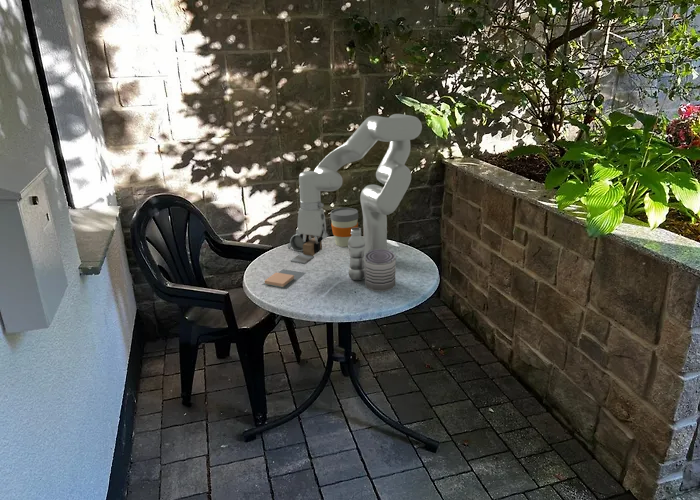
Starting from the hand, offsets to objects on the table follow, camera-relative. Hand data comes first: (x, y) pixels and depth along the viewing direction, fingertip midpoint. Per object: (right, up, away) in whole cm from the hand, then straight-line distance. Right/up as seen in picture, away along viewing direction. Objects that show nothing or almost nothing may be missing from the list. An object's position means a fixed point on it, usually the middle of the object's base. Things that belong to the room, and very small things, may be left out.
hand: (312, 251), depth 188 cm
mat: (-11, -11, 0) cm, 15 cm away
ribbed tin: (+25, -13, -6) cm, 29 cm away
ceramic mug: (-8, +1, +31) cm, 32 cm away
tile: (-11, -9, 0) cm, 14 cm away
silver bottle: (+17, -11, -1) cm, 20 cm away
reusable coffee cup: (+12, +3, +35) cm, 37 cm away
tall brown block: (-1, -2, -3) cm, 3 cm away
